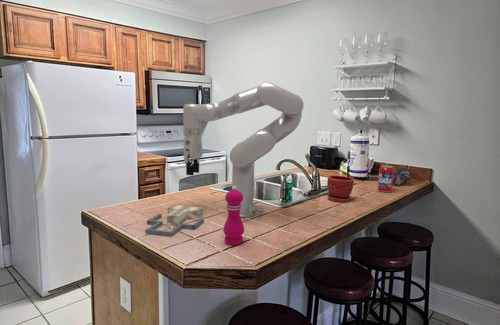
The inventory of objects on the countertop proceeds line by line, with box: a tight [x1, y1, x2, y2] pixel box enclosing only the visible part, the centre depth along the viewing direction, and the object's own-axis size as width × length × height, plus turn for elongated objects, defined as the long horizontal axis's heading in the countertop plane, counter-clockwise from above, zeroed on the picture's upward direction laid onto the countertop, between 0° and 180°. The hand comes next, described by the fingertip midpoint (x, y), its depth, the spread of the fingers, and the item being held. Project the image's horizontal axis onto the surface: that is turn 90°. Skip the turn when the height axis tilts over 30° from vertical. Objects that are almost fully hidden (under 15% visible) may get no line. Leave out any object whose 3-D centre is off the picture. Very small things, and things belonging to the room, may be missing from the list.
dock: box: [145, 213, 205, 238], centre depth 128 cm, size 20×18×2 cm
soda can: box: [377, 164, 395, 193], centre depth 192 cm, size 8×8×15 cm
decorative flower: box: [393, 167, 412, 187], centre depth 213 cm, size 14×12×15 cm
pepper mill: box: [222, 186, 245, 246], centre depth 113 cm, size 7×7×20 cm
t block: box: [166, 204, 204, 227], centre depth 136 cm, size 14×14×4 cm
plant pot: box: [326, 175, 355, 203], centre depth 172 cm, size 13×13×12 cm
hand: (192, 173), depth 146 cm, fingers open, 5 cm apart
